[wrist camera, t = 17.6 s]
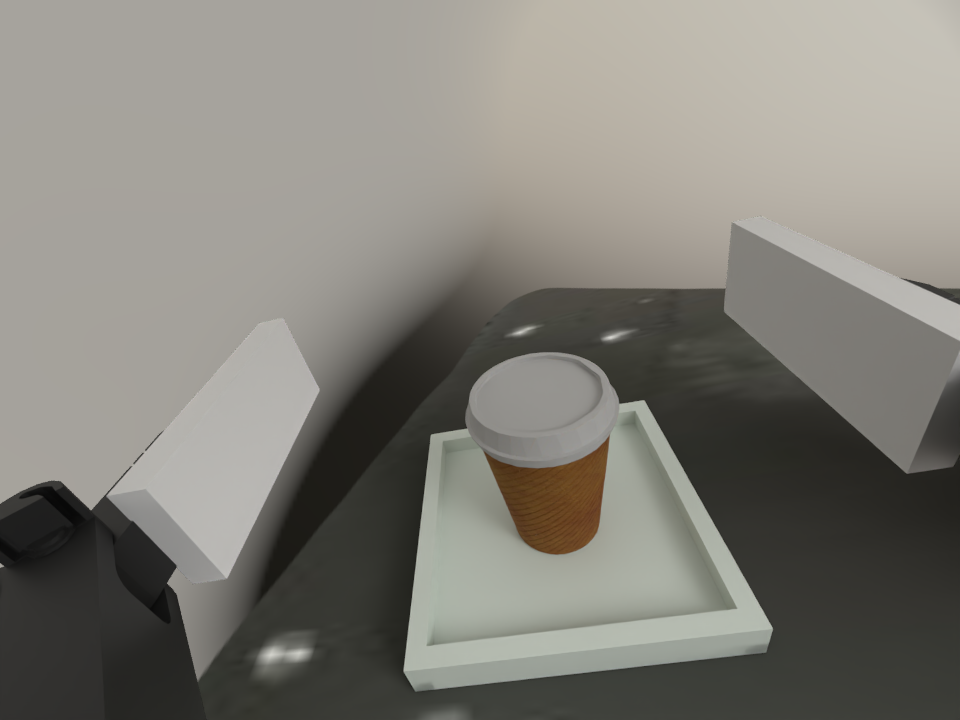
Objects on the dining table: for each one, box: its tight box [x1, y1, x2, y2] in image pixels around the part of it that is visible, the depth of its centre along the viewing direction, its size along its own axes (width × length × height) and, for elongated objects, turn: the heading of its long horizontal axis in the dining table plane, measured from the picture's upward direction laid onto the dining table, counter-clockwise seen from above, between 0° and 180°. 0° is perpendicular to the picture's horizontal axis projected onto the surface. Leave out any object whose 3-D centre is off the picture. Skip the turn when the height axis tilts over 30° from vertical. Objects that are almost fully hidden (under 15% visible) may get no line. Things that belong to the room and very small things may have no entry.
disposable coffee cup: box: [465, 353, 619, 555], centre depth 30 cm, size 10×10×12 cm
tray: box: [404, 400, 773, 692], centre depth 33 cm, size 20×20×2 cm
